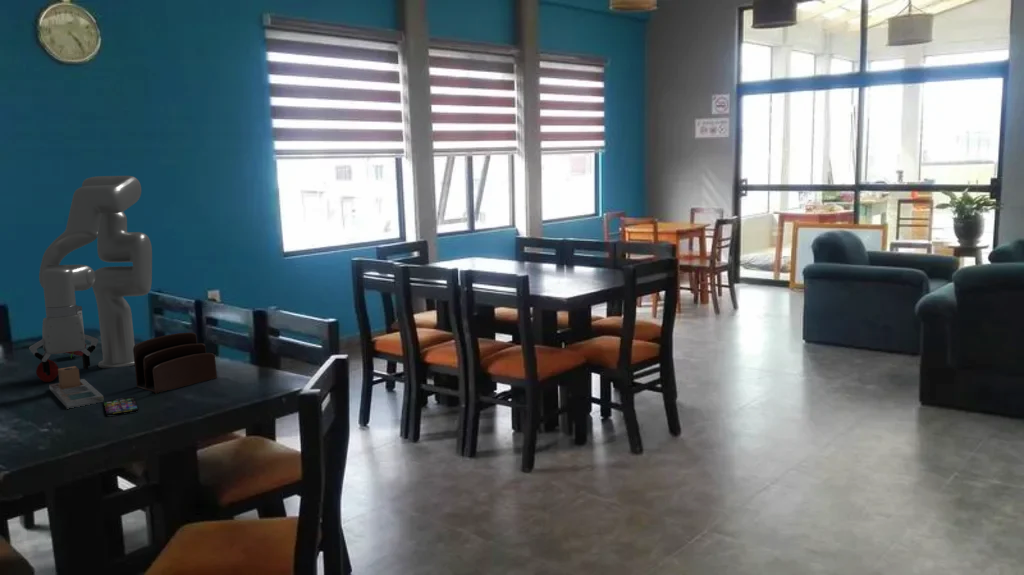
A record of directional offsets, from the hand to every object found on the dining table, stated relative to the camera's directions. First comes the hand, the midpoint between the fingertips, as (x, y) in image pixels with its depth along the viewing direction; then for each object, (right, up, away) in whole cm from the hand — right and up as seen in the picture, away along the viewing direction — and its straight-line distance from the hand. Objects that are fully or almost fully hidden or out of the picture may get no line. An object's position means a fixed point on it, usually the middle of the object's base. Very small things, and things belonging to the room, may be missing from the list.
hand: (67, 371), depth 233 cm
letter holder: (+28, -5, +7) cm, 30 cm away
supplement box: (-37, +4, +70) cm, 79 cm away
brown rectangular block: (0, -5, +1) cm, 5 cm away
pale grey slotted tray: (+5, -7, -4) cm, 9 cm away
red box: (-21, 0, +44) cm, 49 cm away
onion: (-12, -5, +11) cm, 17 cm away
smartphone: (+22, -8, -15) cm, 28 cm away
